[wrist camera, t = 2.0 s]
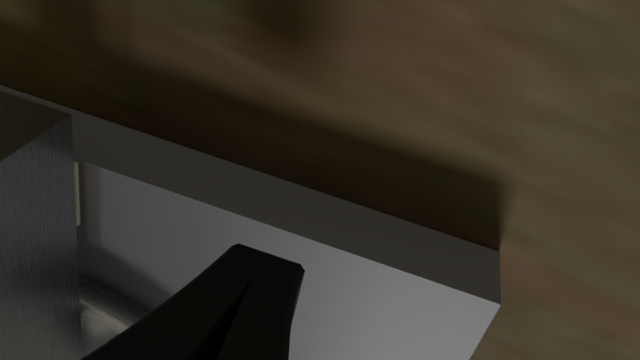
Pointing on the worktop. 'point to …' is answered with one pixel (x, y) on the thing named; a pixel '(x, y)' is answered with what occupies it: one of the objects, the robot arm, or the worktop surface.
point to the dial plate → (274, 247)
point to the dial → (46, 244)
